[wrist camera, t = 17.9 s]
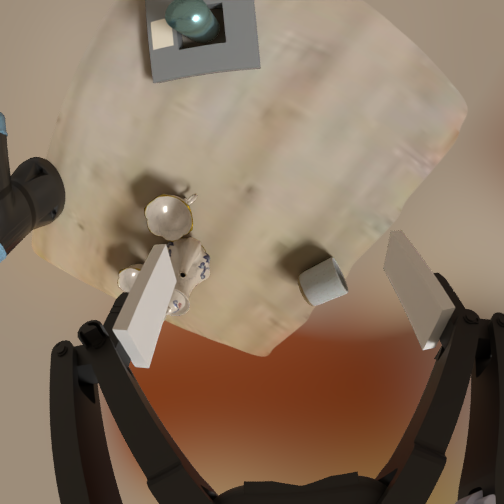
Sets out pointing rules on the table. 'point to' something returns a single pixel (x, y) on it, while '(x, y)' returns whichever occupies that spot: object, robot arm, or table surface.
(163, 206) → the chinaware
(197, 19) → the teal cylinder
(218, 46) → the socket block
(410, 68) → the table surface
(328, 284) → the ceramic mug
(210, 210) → the table surface
